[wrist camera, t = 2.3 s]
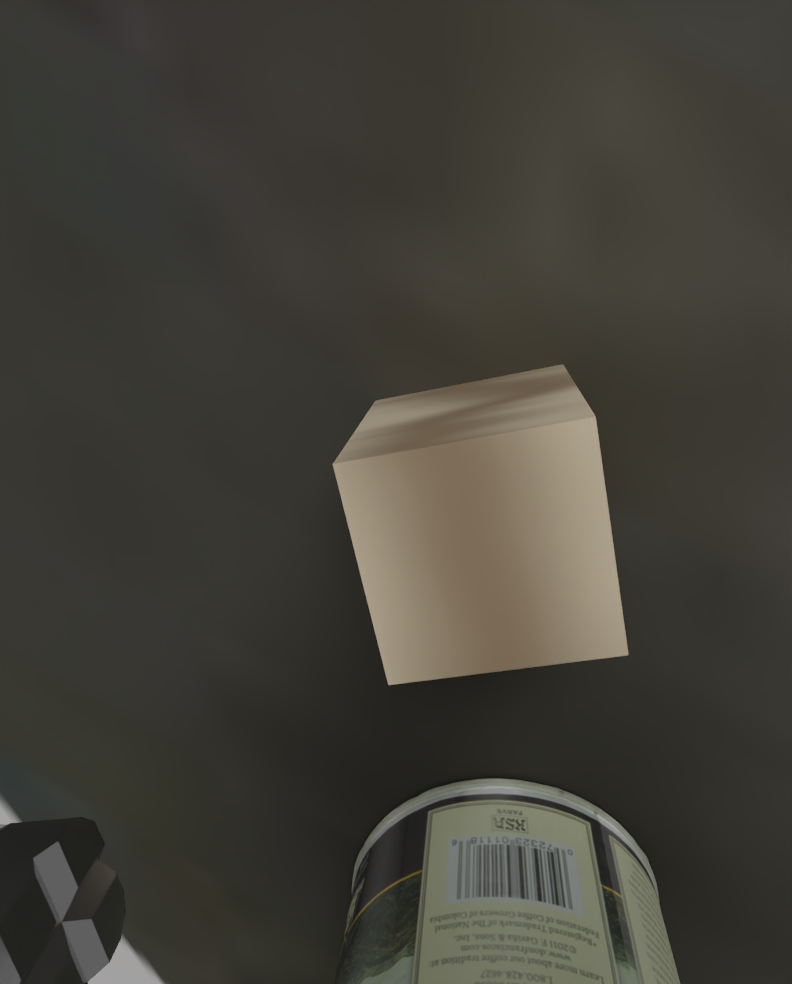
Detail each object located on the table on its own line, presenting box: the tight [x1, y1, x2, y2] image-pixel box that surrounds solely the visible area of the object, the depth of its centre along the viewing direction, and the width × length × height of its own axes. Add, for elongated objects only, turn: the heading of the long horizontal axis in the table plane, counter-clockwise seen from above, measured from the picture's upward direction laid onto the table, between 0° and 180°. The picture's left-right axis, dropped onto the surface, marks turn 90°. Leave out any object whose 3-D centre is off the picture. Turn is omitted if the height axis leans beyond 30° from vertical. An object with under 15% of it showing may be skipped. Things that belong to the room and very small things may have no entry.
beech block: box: [333, 365, 628, 685], centre depth 17 cm, size 5×5×6 cm
